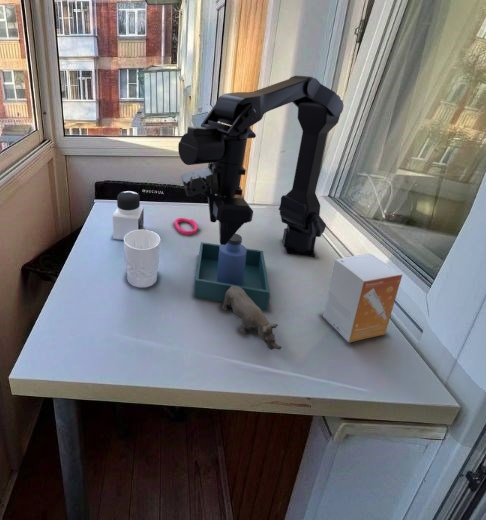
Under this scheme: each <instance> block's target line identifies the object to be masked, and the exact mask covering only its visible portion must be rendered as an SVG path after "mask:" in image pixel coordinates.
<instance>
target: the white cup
mask: <svg viewBox="0 0 486 520" xmlns="http://www.w3.org/2000/svg"><path fill="white" fill-rule="evenodd" d="M161 241H162V240H161V237H160V235H159V234H158V233H156V232H155V231H152V230H149V229H143V230H134V231H131V232H129V233H128V234H126V235H125V237H124V240H123V245H124V246H123V248H124V262H125V270H126V279H127V281H128V283H129V284H130V285H131V286H132V287H137V288H148V287H151V286H153V285H155V284H156V282H157V279H158V271H159V265H160V253H161Z"/></svg>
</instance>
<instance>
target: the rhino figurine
mask: <svg viewBox="0 0 486 520" xmlns="http://www.w3.org/2000/svg"><path fill="white" fill-rule="evenodd" d="M230 306H231V308H232V312H233V313H234V315H235V316H237V317H238V318H239V319H241V322H242V325H240V329H239V331H240V333H242V334H243V335H247V334H248V333H249V330H248V328H251V330H252V332H253V333H255V334H258V336H259V338H260V339H261V340H262V342H264V344H265V346H267V348H268V349H269V350H270V351H273V350H281V349H282V348H283V346H282V345H278V344H277V342H276V336H275V334H274V333H273V329H276V328H278V326H279V324H277V323H273V324H271V323H270V322H269V320H267V318H266V316H265V314H264V312H263V309H261V308H259V307H258V306H257V305H256V304H255V303H254V302H253V301H252V299H251V298H250V297H249V296H248V295H247V294H246V292H245V291H244V290H243V289H242V288H240V287H237V286H231V287H230V288H229V289H228V290H227V292H226V294H225V299H224V302H223V304H222V306H221V309H222V310H223V311H224V312H228V311H229V310H230Z"/></svg>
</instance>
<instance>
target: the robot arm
mask: <svg viewBox="0 0 486 520" xmlns="http://www.w3.org/2000/svg"><path fill="white" fill-rule="evenodd" d="M291 103H292V104H294V106H296V107H297V120H298V123H299V125H300V128H301V130H302V133H301V139H300V144H299V149H298V155H297V156H298V157H297V162H296V166H295V170H294V171H295V173H294V177H293V182H292V188H291V189H290V190H289V192H287V193H286V194H284V195H282V196H281V197H280V204H279V207H278V211H279V216H280V219H281V220H280V221H281V223H283V224H286V227H285V228H284V229H283V235H282V246H283V248H285V252H286V254H289V255H295V256H301V257H308V258H316V253H315V246H316V242H317V241H316V240H317V238H321V237H322V234H324V232H325V231H326V228H327V224H326V222H325V221H324V219H322V217H321V216H320V213H321V203H320V201H319V198H318V196H317V194H316V191H317V185H318V181H319V175H320V172H321V171H320V170H321V165H322V161H323V156H324V151H325V146H326V142H327V141H326V140H327V137H328V134H329V132H331V130H333V128H334V127H336V125H337V124H338V123H339V120H340V118H341V115H342V113H343V110H344V107H345V106H344V105H345V104H344V101H343V99H341V96H340V95H339V94H337V93H336V92H335V91H334V90H332V89H331V88H329V87H327V86H325V85H324V84H322V83H321V82H320V81H319V79H317V78H316V77H313V76H309V75H293V76H291V77H289V78H288V79H285V80H282V81H280V82H277V83H274V84H270V85H268V86H266V87H262V88H259V89H257V90H253V91H240V92H239V91H237V92H228V93H223V94H221V95H220V96H219V97H217V101H216V103H215V104H214V106H213V107H212V108H211V110H210V111H209V113H208V114H207V115H206V117H205V118H204V119H203V121H202V122H201V124H200V126H195V125H194V126H187V130H186V131H187V132H186V133H184V134H183V135H182V136H181V138H180V140H179V142H178V144H177V148H178V155H179V157H180V160H181V162H182V163H183V164H184V165H187V166H194V165H203V164H208V166H207V168H203V169H197V170H192V171H189V172H185V173H182V174H181V175H180V176H181V181H182V184H183V189H184V191H185V194H186V196H187V197H194V196H196V195H200V194H204V195H205V196H206V197H207V202H208V203H207V205H208V212H209V221H210V222H211V223H217V221H218V229H219V230H218V231H219V232H218V233H219V234H218V235H219V245H220V244H221V245H226V244H227V243H228V241H229V240H230V239H231V238H232V236H233V235H234V234H235V233H236V234H237V232H238V230H240V229H241V227H243V225H244V224H247V223H251V222H252V221H253V216H254V210H253V209H252V207H251V206H250V205H249V204H248V202H247V201H246V200H245V199H244V198H240V197H236V196H242V195H243V189H242V188H241V182H242V181H241V180H242V176H245V175H246V171H247V169H245V168H244V161H245V155H246V149H247V143H248V139H255V138H256V137H257V134H256V133H255V132H254V131H253V130H252V129H251V127H253V126H254V125H255V124H257V123H259V122H260V121H261V120H262V119H263V117H264V115H265V114H266V113H268V112H270V111H273V110H275V109H278V108H280V107H283V106H286V105H288V104H291Z"/></svg>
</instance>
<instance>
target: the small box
mask: <svg viewBox="0 0 486 520" xmlns="http://www.w3.org/2000/svg"><path fill="white" fill-rule="evenodd" d="M332 265H333V266H332V271H331V276H330V279H329V280H330V281H329V285H328V289H327V294H326V298H325V304H324V309H323V313H322V317H323V318H324V319H325V320H326V321H327V322H328V323H329V324H330V325H331V326H332V327H333V329H335V330H336V332H338V333H339V334H340V335H341V336H342V337H343V339H344V340H345V341H346V342H348V343H349V344H351V343H353V342H358V341H361V340H365V339H370V338H376V337H380V336H385V335H386V333H387V329H388V326H389V323H390V318H391V315H392V311H393V309H394V305H395V301H396V298H397V294H398V291H399V288H400V284H401V281H402V277H403V273H401V272H399V271H398V270H396V269H395V268H394V267H392V266H390V265H389V264H387V263H386V262H385V261H383V260H382V259H380V258H379V257H377V256H375V255H374V254H373V253H365V254H359V255H358V254H357V255H351V256H346V257H342V258H336V259H334V261H333V264H332Z"/></svg>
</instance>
